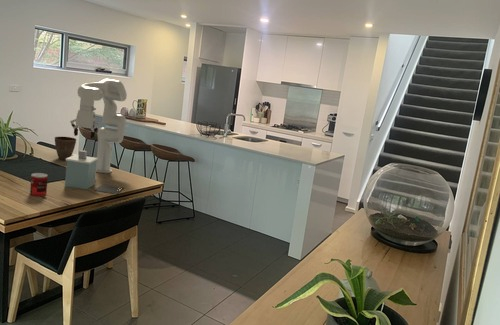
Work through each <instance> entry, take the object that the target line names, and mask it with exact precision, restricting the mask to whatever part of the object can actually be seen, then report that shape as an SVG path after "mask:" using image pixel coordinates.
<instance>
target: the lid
mask: <svg viewBox="0 0 500 325" xmlns="http://www.w3.org/2000/svg"><path fill="white" fill-rule="evenodd" d="M96 160H98V158H97V157H94V156H93V157H92V156H88V151H87V150H82V149H80V150H79V151H78V154H72V155H71V157H69V158H66V160H65V161H66V162H67V161H74V162H80V163H87V164H90V163H92V162H94V161H96Z"/></svg>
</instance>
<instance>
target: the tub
mask: <svg viewBox="0 0 500 325" xmlns="http://www.w3.org/2000/svg"><path fill="white" fill-rule="evenodd" d="M96 163H97V160H96V161H94V162H92V163H90V164H87V163H80V162H74V161H67V160H66V168H65V180H64V187H68V188H74V189H75V188H76V189H81V190H82V189H83V190H88V189H90V188H91V187H92V186H95V183H96V175H97V174H96V173H97V172H96Z"/></svg>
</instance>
